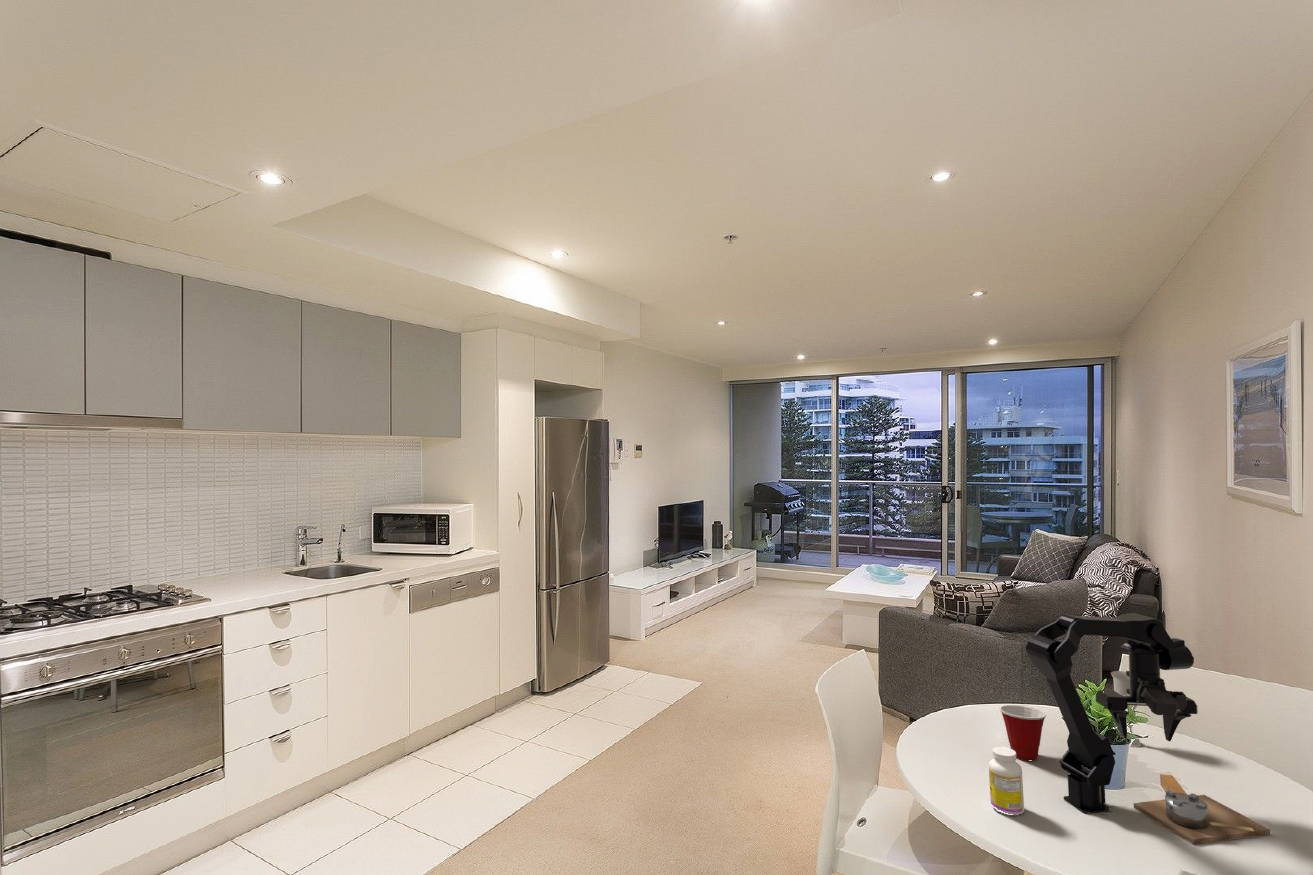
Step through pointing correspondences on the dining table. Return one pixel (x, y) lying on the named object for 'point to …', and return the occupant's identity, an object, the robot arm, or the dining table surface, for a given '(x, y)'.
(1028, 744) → the plastic cup
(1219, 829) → the base plate
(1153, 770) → the dining table surface
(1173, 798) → the wood-handled metal tool
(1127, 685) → the chalice
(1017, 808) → the supplement bottle
